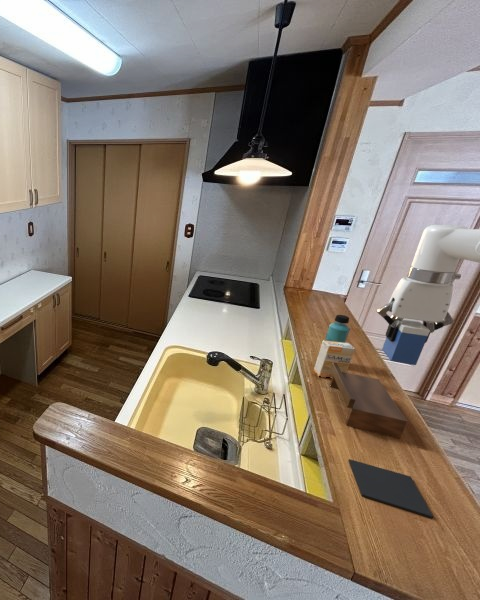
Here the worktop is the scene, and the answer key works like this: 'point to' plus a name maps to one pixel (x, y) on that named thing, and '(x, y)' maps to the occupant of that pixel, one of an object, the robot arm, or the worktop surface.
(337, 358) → the supplement box
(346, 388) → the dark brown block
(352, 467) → the mat
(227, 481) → the worktop surface
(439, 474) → the worktop surface
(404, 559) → the worktop surface
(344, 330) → the beverage bottle
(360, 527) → the worktop surface
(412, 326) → the box
